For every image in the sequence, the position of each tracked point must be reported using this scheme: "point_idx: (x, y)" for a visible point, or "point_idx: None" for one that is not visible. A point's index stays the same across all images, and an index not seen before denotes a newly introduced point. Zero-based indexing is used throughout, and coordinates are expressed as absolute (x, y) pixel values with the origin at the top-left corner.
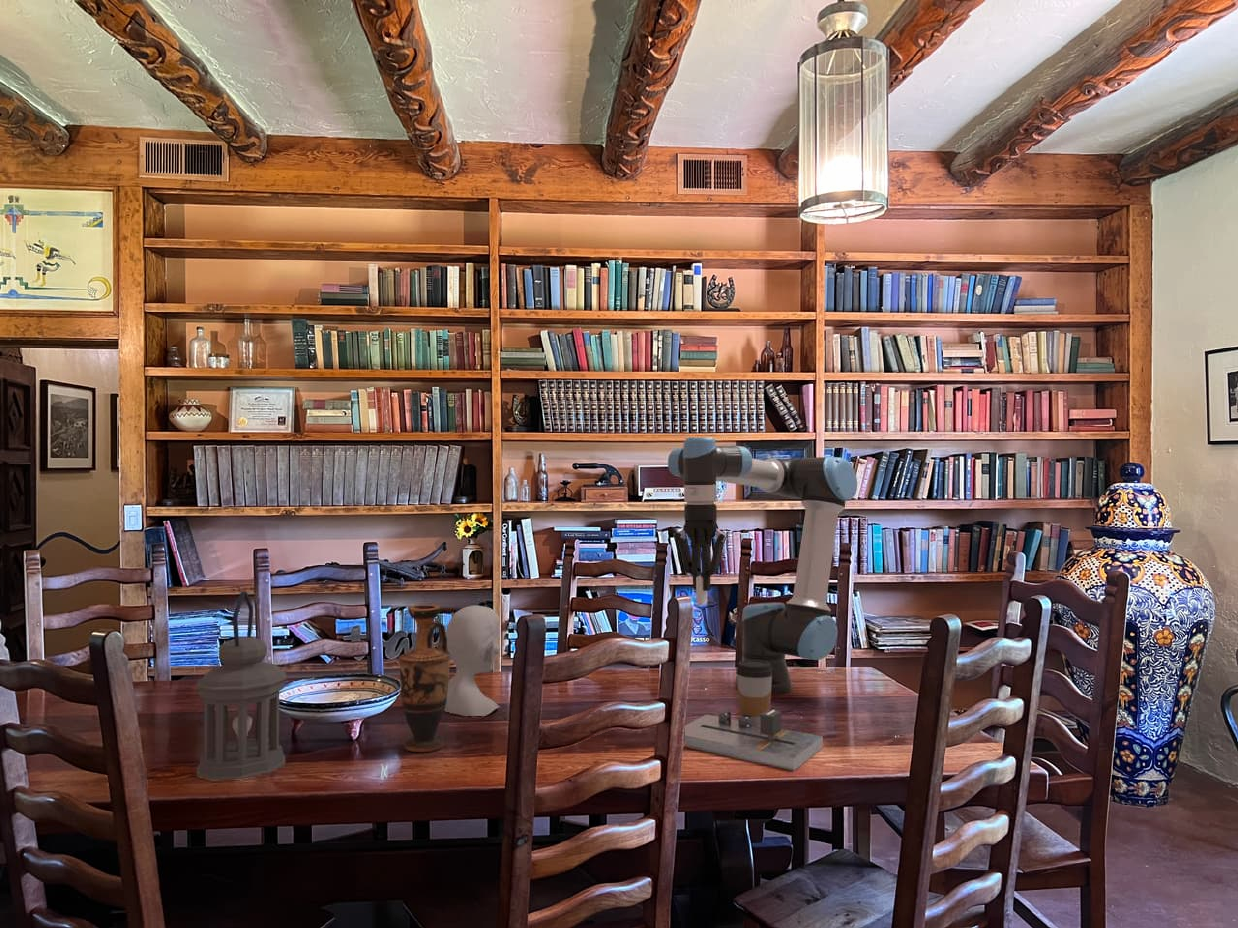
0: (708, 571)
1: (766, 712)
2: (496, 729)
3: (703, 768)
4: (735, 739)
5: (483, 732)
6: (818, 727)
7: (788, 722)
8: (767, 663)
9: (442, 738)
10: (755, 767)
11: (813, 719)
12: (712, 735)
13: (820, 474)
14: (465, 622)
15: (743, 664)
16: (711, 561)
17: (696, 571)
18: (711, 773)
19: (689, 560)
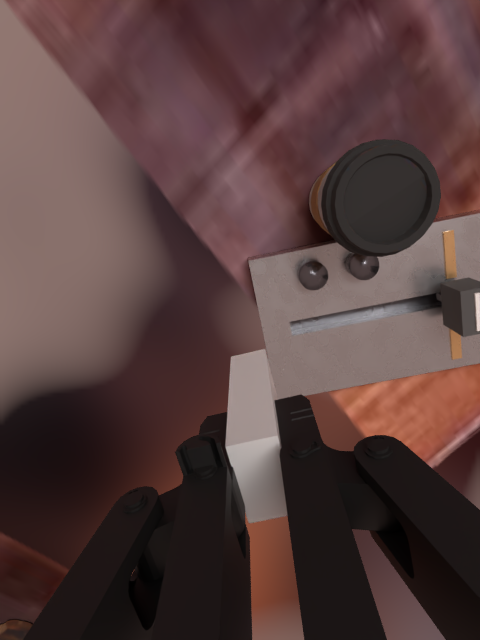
0: (353, 521)
1: (466, 314)
2: (8, 539)
3: None
4: (394, 348)
5: (10, 559)
6: (447, 74)
7: (373, 95)
8: (421, 165)
9: (21, 631)
10: (456, 378)
11: (409, 19)
12: (346, 361)
13: None
14: None
15: (356, 223)
16: (441, 623)
17: (249, 553)
18: (412, 445)
19: (132, 629)
